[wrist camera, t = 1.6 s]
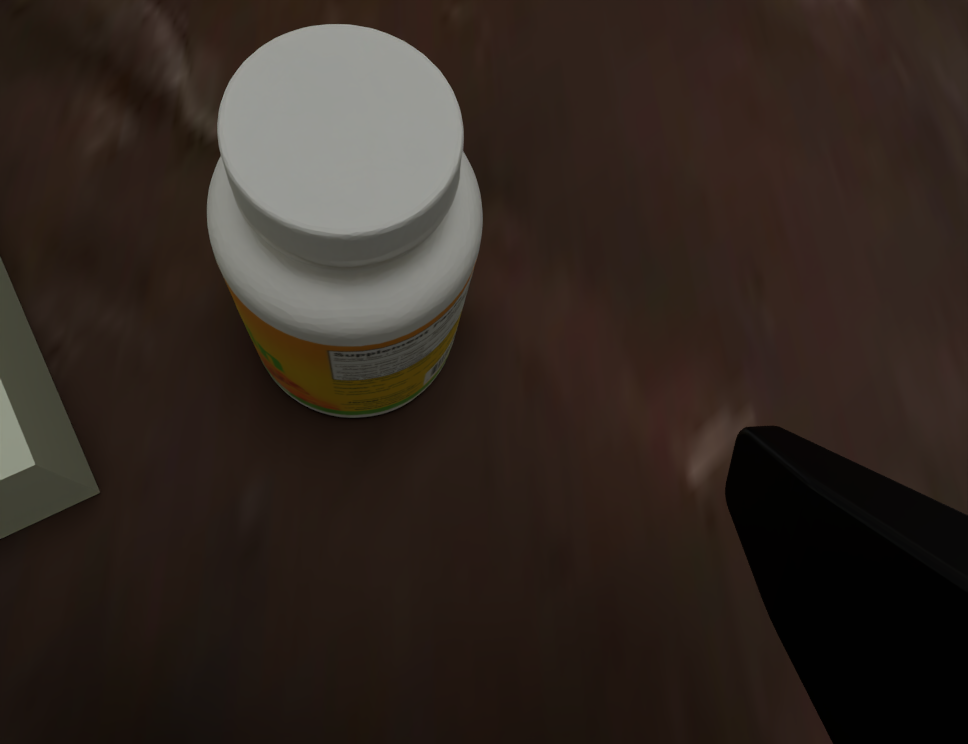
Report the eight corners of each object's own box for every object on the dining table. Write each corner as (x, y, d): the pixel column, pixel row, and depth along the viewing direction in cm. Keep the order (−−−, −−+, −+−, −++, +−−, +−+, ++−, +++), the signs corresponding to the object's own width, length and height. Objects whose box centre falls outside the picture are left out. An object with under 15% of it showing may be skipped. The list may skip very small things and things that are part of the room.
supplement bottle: (232, 267, 22) (129, 21, 13) (416, 218, 23) (443, -41, 14) (288, 449, 21) (219, 320, 12) (480, 386, 22) (554, 224, 13)
